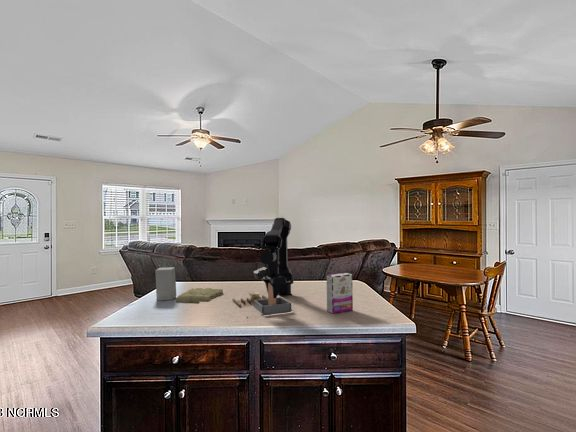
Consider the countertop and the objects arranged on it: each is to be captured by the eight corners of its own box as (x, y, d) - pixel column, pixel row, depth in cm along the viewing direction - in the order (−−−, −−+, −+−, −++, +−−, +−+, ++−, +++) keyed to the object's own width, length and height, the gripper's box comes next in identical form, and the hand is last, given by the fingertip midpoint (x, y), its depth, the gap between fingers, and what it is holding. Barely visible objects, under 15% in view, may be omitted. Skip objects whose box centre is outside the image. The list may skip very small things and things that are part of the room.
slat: (270, 304, 148) (271, 282, 149) (276, 307, 143) (276, 285, 143) (268, 304, 148) (268, 282, 148) (273, 307, 142) (273, 285, 142)
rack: (263, 299, 164) (263, 294, 164) (272, 305, 154) (272, 299, 154) (232, 302, 158) (232, 297, 158) (239, 309, 147) (239, 303, 147)
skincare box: (176, 297, 168) (176, 266, 169) (172, 300, 161) (172, 269, 161) (160, 297, 168) (160, 266, 168) (154, 300, 161) (155, 269, 161)
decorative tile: (175, 302, 159) (175, 295, 159) (191, 293, 179) (191, 286, 179) (211, 304, 157) (211, 296, 157) (224, 294, 177) (224, 287, 177)
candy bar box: (346, 308, 149) (346, 272, 149) (353, 310, 145) (353, 274, 145) (325, 311, 144) (326, 274, 144) (332, 314, 140) (332, 276, 140)
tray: (280, 305, 154) (280, 297, 154) (291, 311, 143) (291, 303, 143) (253, 308, 148) (253, 300, 148) (262, 315, 137) (262, 306, 137)
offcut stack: (257, 300, 160) (257, 291, 160) (260, 302, 155) (260, 294, 155) (249, 301, 158) (249, 292, 158) (252, 303, 153) (252, 294, 153)
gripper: (248, 260, 151) (248, 293, 151) (262, 265, 134) (262, 303, 134) (270, 258, 155) (270, 291, 155) (287, 264, 138) (287, 300, 138)
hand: (272, 296), depth 146 cm, fingers open, 6 cm apart
